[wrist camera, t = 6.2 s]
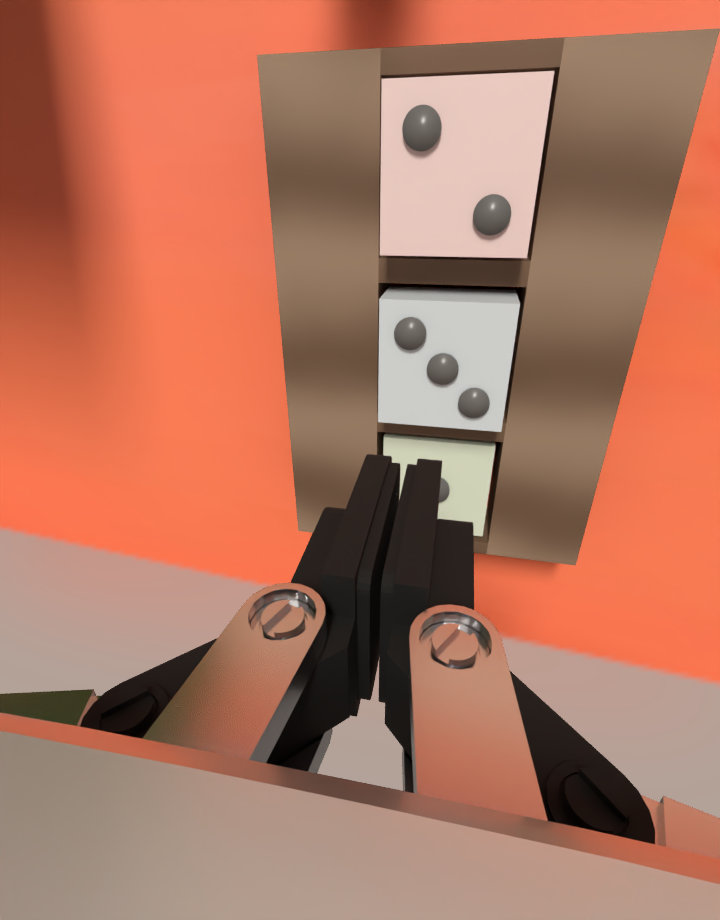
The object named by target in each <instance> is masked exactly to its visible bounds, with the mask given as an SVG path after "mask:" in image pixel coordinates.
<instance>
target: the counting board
mask: <svg viewBox="0 0 720 920" xmlns="http://www.w3.org/2000/svg"><path fill="white" fill-rule="evenodd" d="M719 31H720V29H704V30H687V31H669V32H652V33H634V34H617V35H599V36H581V37H564V38H546V39H529V40H511V41H494V42H476V43H458V44H441V45H423V46H406V47H388V48H371V49H353V50H336V51H318V52H300V53H283V54H265V55H257V59H258V70H259V82H260V93H261V105H262V116H263V128H264V139H265V151H266V162H267V174H268V185H269V197H270V208H271V220H272V231H273V243H274V254H275V266H276V277H277V289H278V300H279V312H280V323H281V335H282V346H283V358H284V369H285V381H286V392H287V404H288V415H289V427H290V438H291V450H292V461H293V473H294V484H295V496H296V507H297V519H298V530H299V531H305V532H314V530H315V527H316V525H317V523H318V521H319V518H320V516H321V514H322V512H323V510H324V508H326V507H334V508H344V509H346V507H347V504H348V501H349V499H350V496H351V494H352V491H353V488H354V486H355V483H356V481H357V478H358V475H359V473H360V470H361V467H362V465H363V462H364V460H365V457H366V455H367V454H373V455H383V445H384V435H385V432H388V433H400V434H412V435H424V436H436V437H448V438H459V439H471V440H483V441H495V442H497V444H496V451H495V458H494V465H493V472H492V479H491V486H490V493H489V500H488V507H487V509H486V516H485V523H484V530H483V537H482V536H474V553H481V554H489V555H497V556H505V557H513V558H521V559H529V560H537V561H545V562H553V563H561V564H569V565H576V561H577V558H578V554H579V550H580V547H581V543H582V539H583V535H584V532H585V528H586V524H587V521H588V517H589V513H590V509H591V506H592V502H593V498H594V495H595V491H596V487H597V483H598V480H599V476H600V472H601V469H602V465H603V461H604V457H605V454H606V450H607V446H608V443H609V439H610V435H611V431H612V428H613V424H614V420H615V417H616V413H617V409H618V405H619V402H620V398H621V394H622V391H623V387H624V383H625V380H626V376H627V372H628V368H629V365H630V361H631V357H632V354H633V350H634V346H635V342H636V339H637V335H638V331H639V328H640V324H641V320H642V316H643V313H644V309H645V305H646V302H647V298H648V294H649V290H650V287H651V283H652V279H653V276H654V272H655V268H656V264H657V261H658V257H659V253H660V250H661V246H662V242H663V238H664V235H665V231H666V227H667V224H668V220H669V216H670V212H671V209H672V205H673V201H674V198H675V194H676V190H677V186H678V183H679V179H680V175H681V172H682V168H683V164H684V161H685V157H686V153H687V149H688V146H689V142H690V138H691V135H692V131H693V127H694V123H695V120H696V116H697V112H698V109H699V105H700V101H701V97H702V94H703V90H704V86H705V83H706V79H707V75H708V71H709V68H710V64H711V60H712V57H713V53H714V49H715V45H716V42H717V38H718V34H719ZM540 71H554V77H553V84H552V91H551V98H550V105H549V111H548V118H547V125H546V132H545V139H544V145H543V152H542V159H541V166H540V173H539V179H538V186H537V193H536V200H535V206H534V213H533V220H532V227H531V234H530V240H529V247H528V254H527V258H492V257H440V256H389V255H380V187H381V92H382V79H387V78H409V77H431V76H453V75H474V74H496V73H518V72H540ZM390 283H403V284H436V285H470V286H504V287H519V292H518V299H519V302H520V308H519V315H518V322H517V329H516V335H515V342H514V349H513V356H512V363H511V369H510V376H509V383H508V390H507V396H506V403H505V410H504V417H503V424H502V430H501V432H494V431H482V430H470V429H457V428H445V427H433V426H420V425H408V424H396V423H383V422H378V376H379V299H380V298H381V296H382V295H383V294H384V293H385V291H386V290H387V289H388V288H389V286H390Z"/></svg>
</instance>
